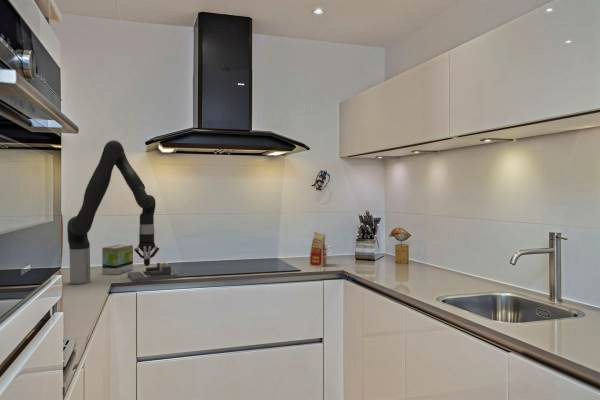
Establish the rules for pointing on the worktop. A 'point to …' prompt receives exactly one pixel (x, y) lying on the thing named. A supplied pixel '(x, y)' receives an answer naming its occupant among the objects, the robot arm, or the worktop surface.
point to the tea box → (117, 259)
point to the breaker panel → (142, 278)
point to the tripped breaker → (163, 265)
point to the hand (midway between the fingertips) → (146, 265)
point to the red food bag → (318, 251)
